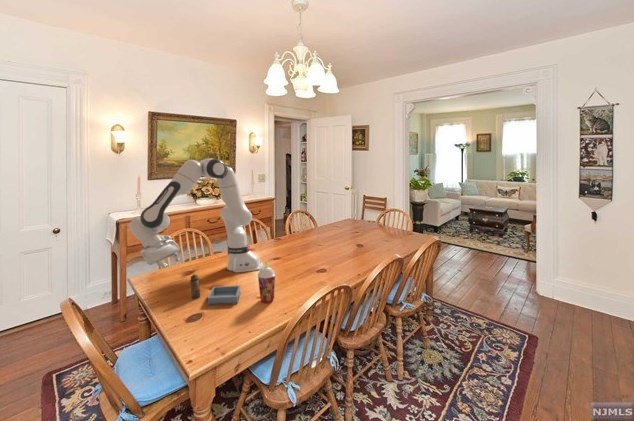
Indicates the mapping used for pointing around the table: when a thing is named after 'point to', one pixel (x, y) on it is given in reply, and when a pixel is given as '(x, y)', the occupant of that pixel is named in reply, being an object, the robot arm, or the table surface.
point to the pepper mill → (194, 287)
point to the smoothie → (266, 284)
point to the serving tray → (224, 295)
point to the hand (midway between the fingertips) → (172, 263)
